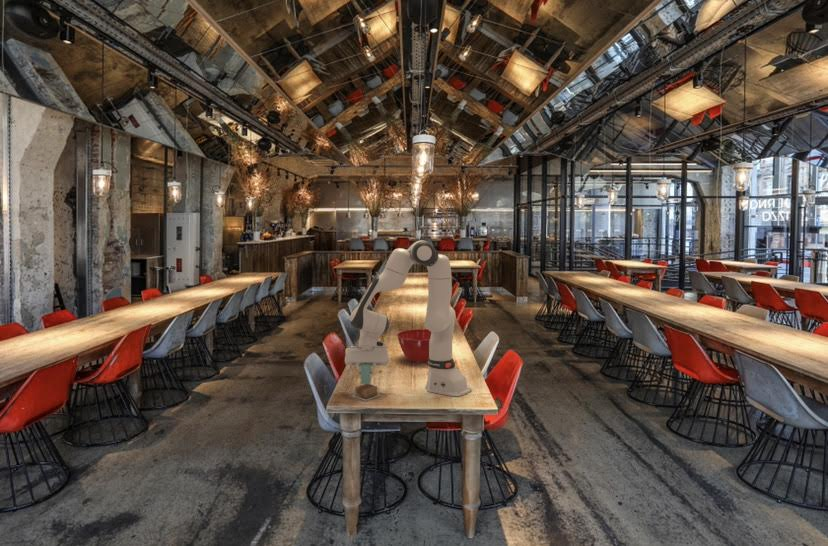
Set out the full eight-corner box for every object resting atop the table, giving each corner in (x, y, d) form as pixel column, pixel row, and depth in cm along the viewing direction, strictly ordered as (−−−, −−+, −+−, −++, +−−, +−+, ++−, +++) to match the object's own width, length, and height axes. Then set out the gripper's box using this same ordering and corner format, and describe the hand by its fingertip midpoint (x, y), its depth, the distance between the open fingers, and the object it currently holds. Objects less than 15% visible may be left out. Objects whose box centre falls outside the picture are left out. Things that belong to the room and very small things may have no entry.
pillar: (370, 381, 229) (370, 364, 228) (369, 383, 225) (369, 366, 224) (362, 381, 229) (361, 364, 228) (361, 383, 225) (360, 366, 224)
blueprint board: (385, 395, 228) (385, 394, 228) (365, 402, 219) (365, 401, 219) (366, 389, 236) (366, 389, 236) (347, 396, 227) (347, 395, 227)
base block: (377, 395, 228) (377, 386, 228) (366, 399, 223) (366, 390, 222) (366, 391, 233) (366, 383, 232) (355, 395, 227) (355, 387, 227)
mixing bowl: (396, 367, 274) (396, 339, 272) (397, 353, 302) (397, 328, 301) (447, 366, 274) (448, 339, 273) (444, 353, 303) (444, 328, 301)
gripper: (345, 342, 233) (342, 369, 224) (388, 343, 232) (387, 369, 224) (346, 349, 237) (343, 376, 229) (389, 350, 237) (388, 376, 228)
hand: (365, 373), depth 226 cm, fingers closed on pillar, 4 cm apart
